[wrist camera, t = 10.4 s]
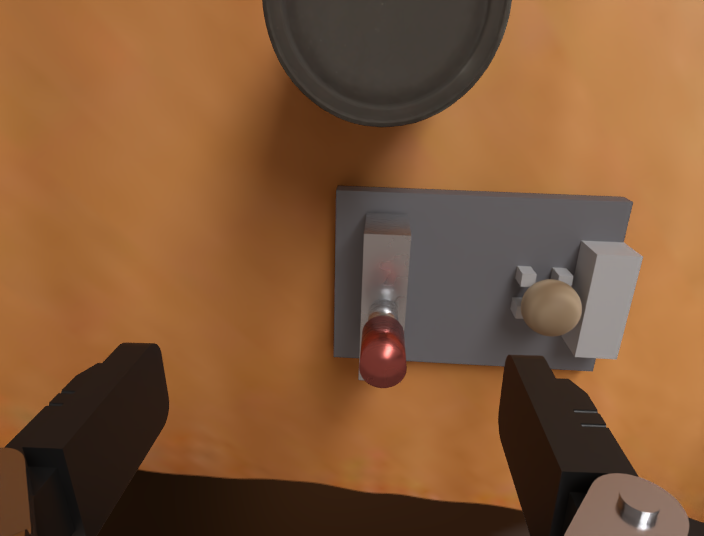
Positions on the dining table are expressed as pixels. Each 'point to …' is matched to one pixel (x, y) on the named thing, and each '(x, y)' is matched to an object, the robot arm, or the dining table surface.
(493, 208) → the nutcracker bench
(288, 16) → the coffee can
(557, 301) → the tan ball
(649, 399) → the dining table surface
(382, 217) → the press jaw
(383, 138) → the dining table surface
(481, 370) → the dining table surface
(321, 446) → the dining table surface
